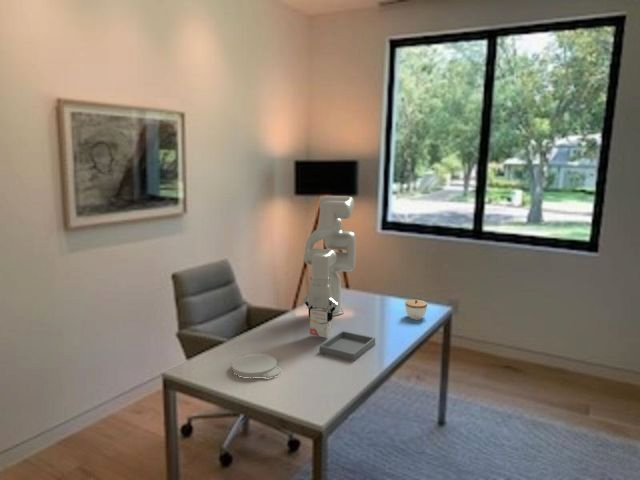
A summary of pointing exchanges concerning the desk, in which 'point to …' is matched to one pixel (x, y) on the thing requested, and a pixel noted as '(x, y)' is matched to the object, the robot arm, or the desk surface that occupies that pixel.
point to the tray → (347, 345)
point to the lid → (256, 366)
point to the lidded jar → (416, 308)
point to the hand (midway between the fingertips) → (320, 318)
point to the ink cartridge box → (319, 322)
